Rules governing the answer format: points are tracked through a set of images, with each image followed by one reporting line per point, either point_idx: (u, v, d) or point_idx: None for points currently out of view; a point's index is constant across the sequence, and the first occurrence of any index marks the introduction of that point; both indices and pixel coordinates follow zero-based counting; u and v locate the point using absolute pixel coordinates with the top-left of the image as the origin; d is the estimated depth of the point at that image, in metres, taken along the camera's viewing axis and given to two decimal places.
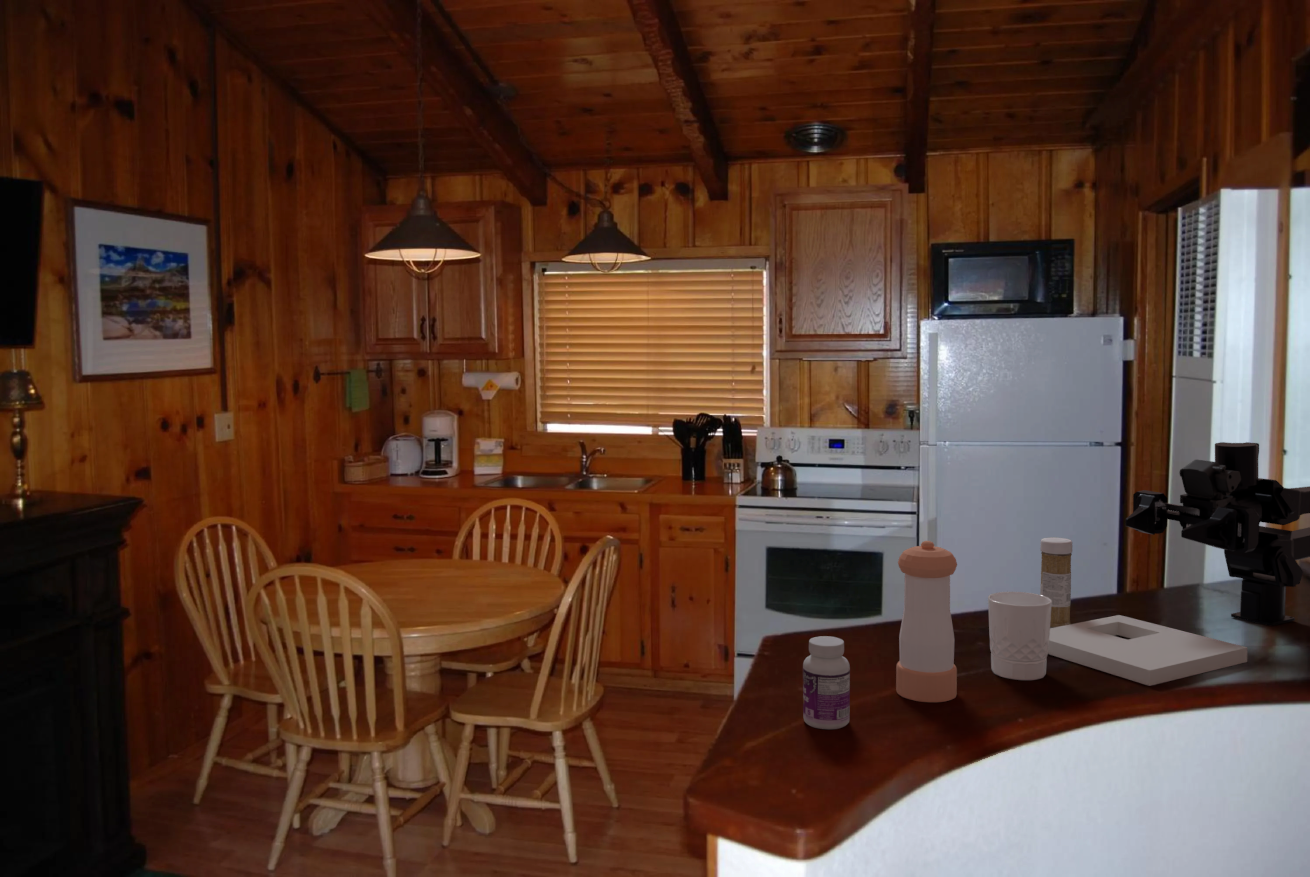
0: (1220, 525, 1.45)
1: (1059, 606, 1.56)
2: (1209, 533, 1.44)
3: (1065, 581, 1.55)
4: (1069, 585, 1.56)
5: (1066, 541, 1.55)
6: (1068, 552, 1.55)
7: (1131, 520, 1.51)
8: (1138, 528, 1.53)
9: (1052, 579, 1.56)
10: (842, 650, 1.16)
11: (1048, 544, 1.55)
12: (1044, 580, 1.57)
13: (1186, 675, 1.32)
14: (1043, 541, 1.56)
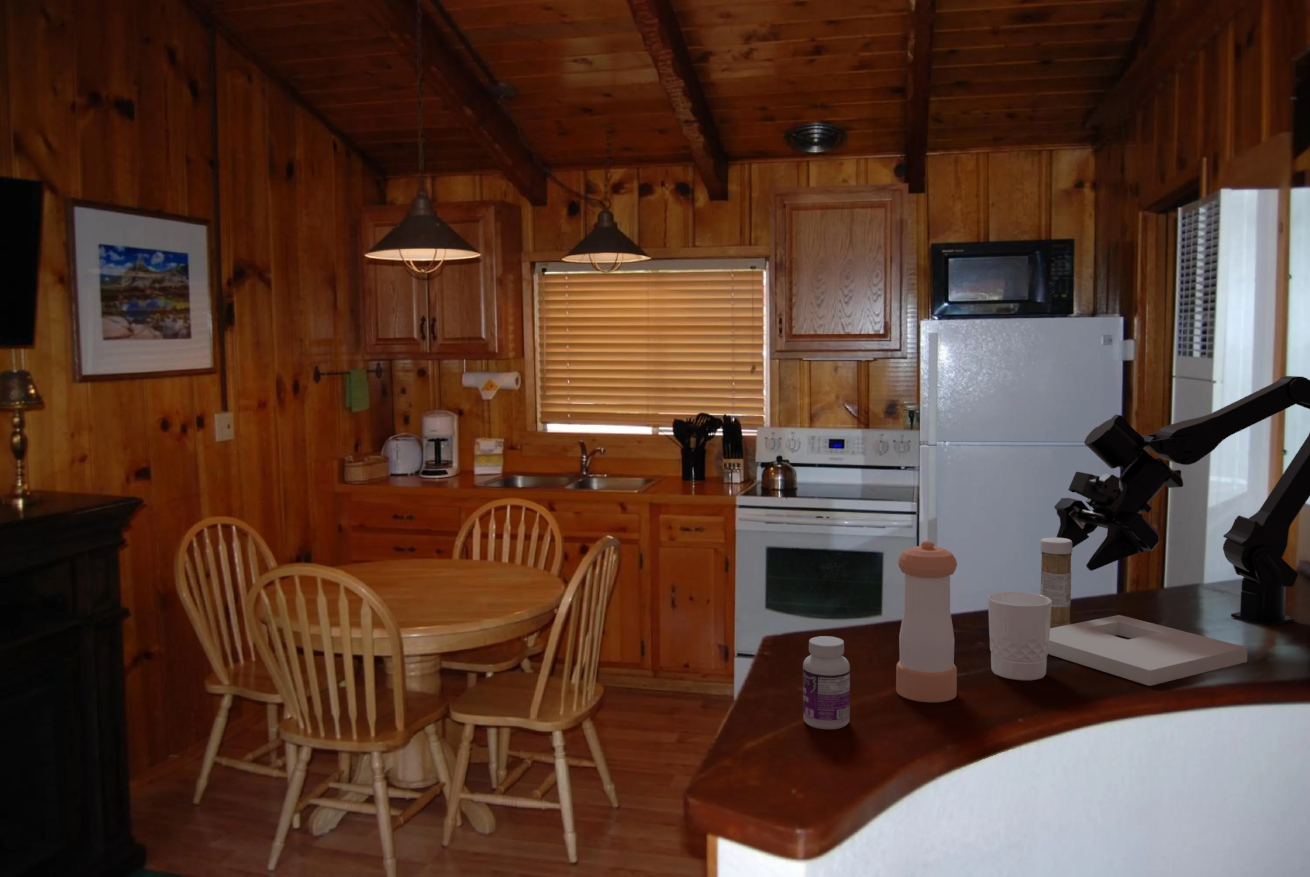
0: (1119, 537, 1.53)
1: (1059, 606, 1.56)
2: (1112, 551, 1.53)
3: (1065, 581, 1.55)
4: (1069, 585, 1.56)
5: (1066, 541, 1.55)
6: (1068, 552, 1.55)
7: None
8: None
9: (1052, 579, 1.56)
10: (842, 650, 1.16)
11: (1048, 544, 1.55)
12: (1044, 580, 1.57)
13: (1186, 675, 1.32)
14: (1043, 541, 1.56)
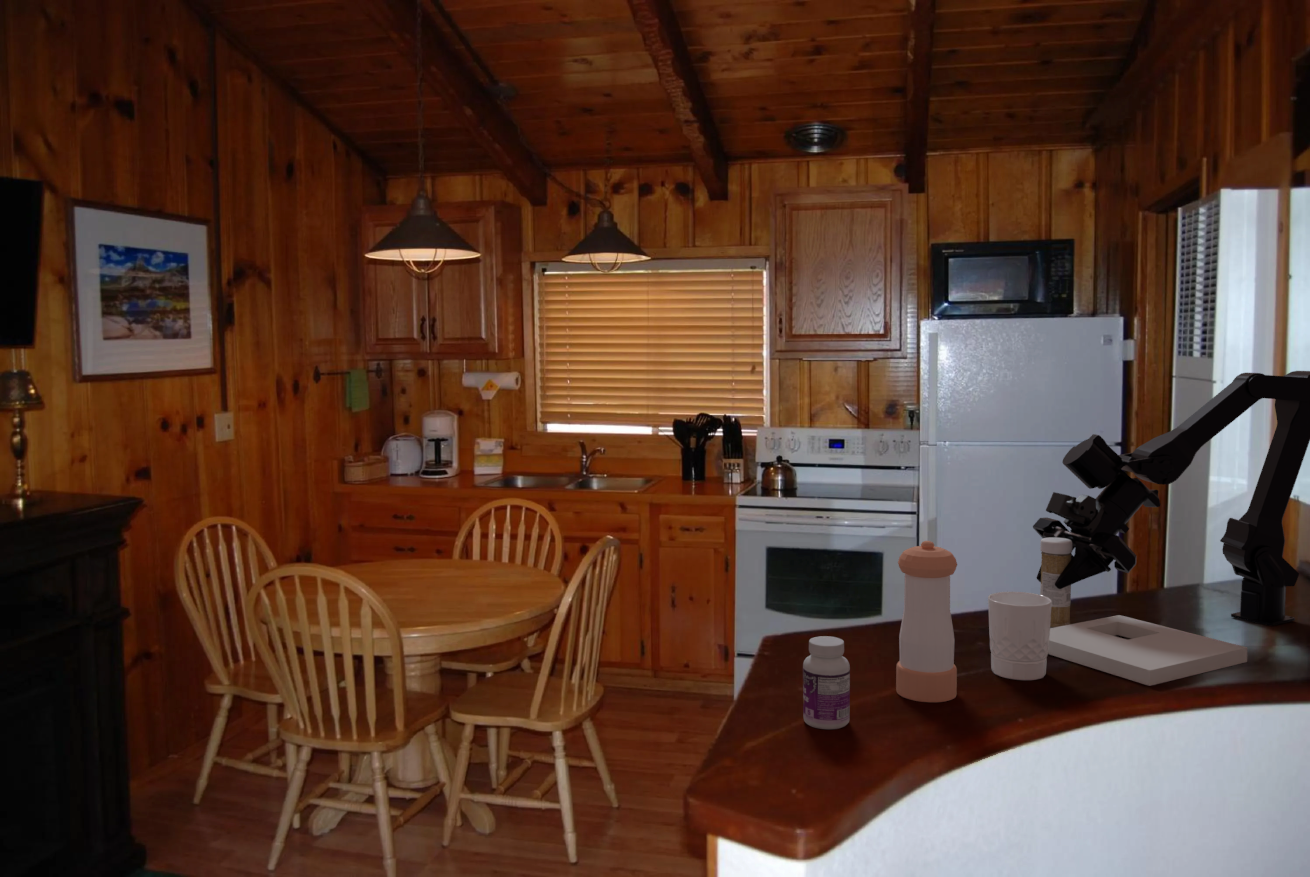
0: (1086, 555, 1.54)
1: (1059, 606, 1.56)
2: (1080, 570, 1.54)
3: None
4: (1069, 585, 1.56)
5: (1066, 541, 1.55)
6: (1068, 552, 1.55)
7: None
8: None
9: (1052, 579, 1.56)
10: (842, 650, 1.16)
11: (1048, 544, 1.55)
12: (1044, 580, 1.57)
13: (1186, 675, 1.32)
14: (1043, 541, 1.56)
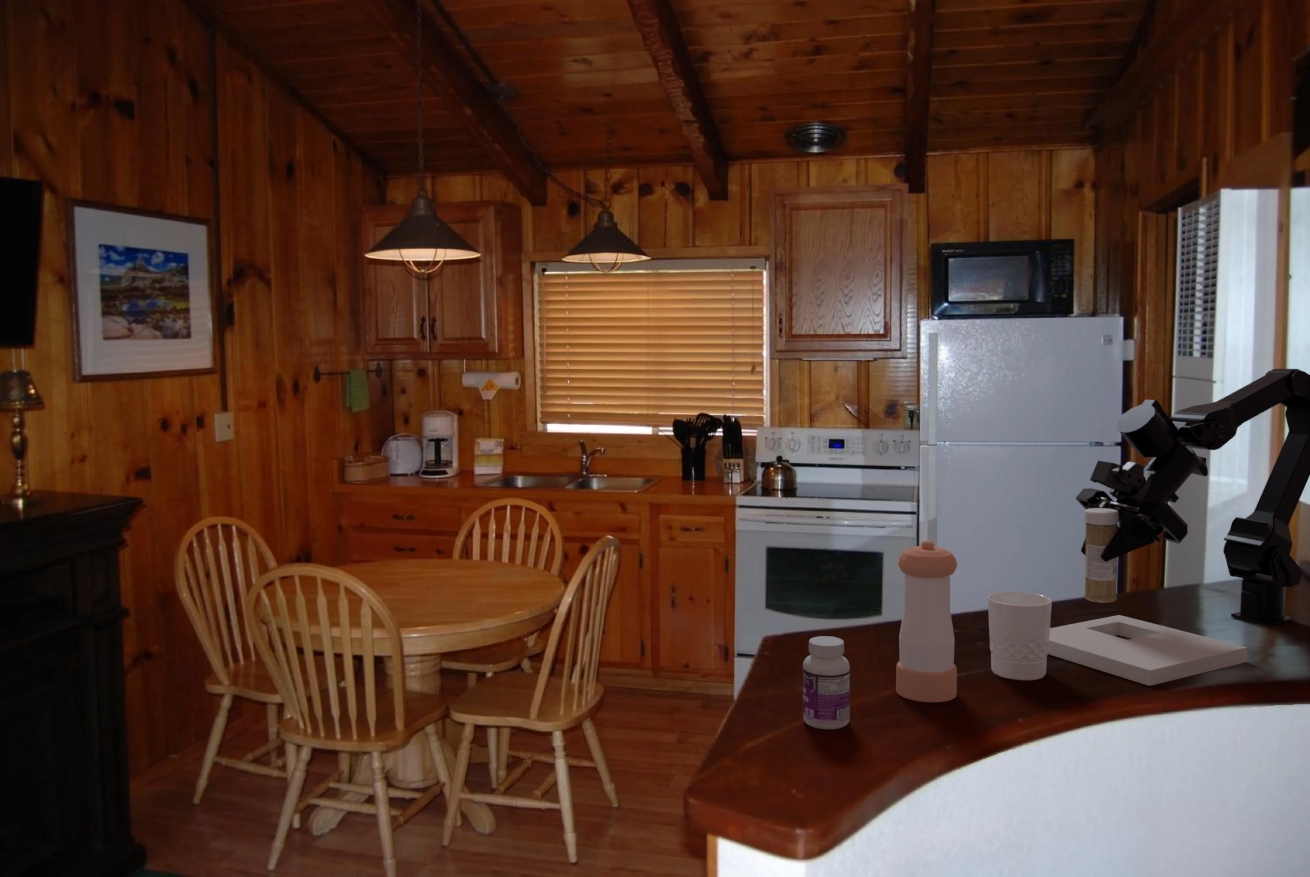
0: (1134, 526, 1.47)
1: (1105, 580, 1.48)
2: (1127, 541, 1.47)
3: None
4: None
5: (1112, 511, 1.48)
6: (1114, 523, 1.48)
7: None
8: None
9: (1098, 551, 1.48)
10: (842, 650, 1.16)
11: (1093, 515, 1.48)
12: (1089, 552, 1.49)
13: (1186, 675, 1.32)
14: (1087, 512, 1.49)
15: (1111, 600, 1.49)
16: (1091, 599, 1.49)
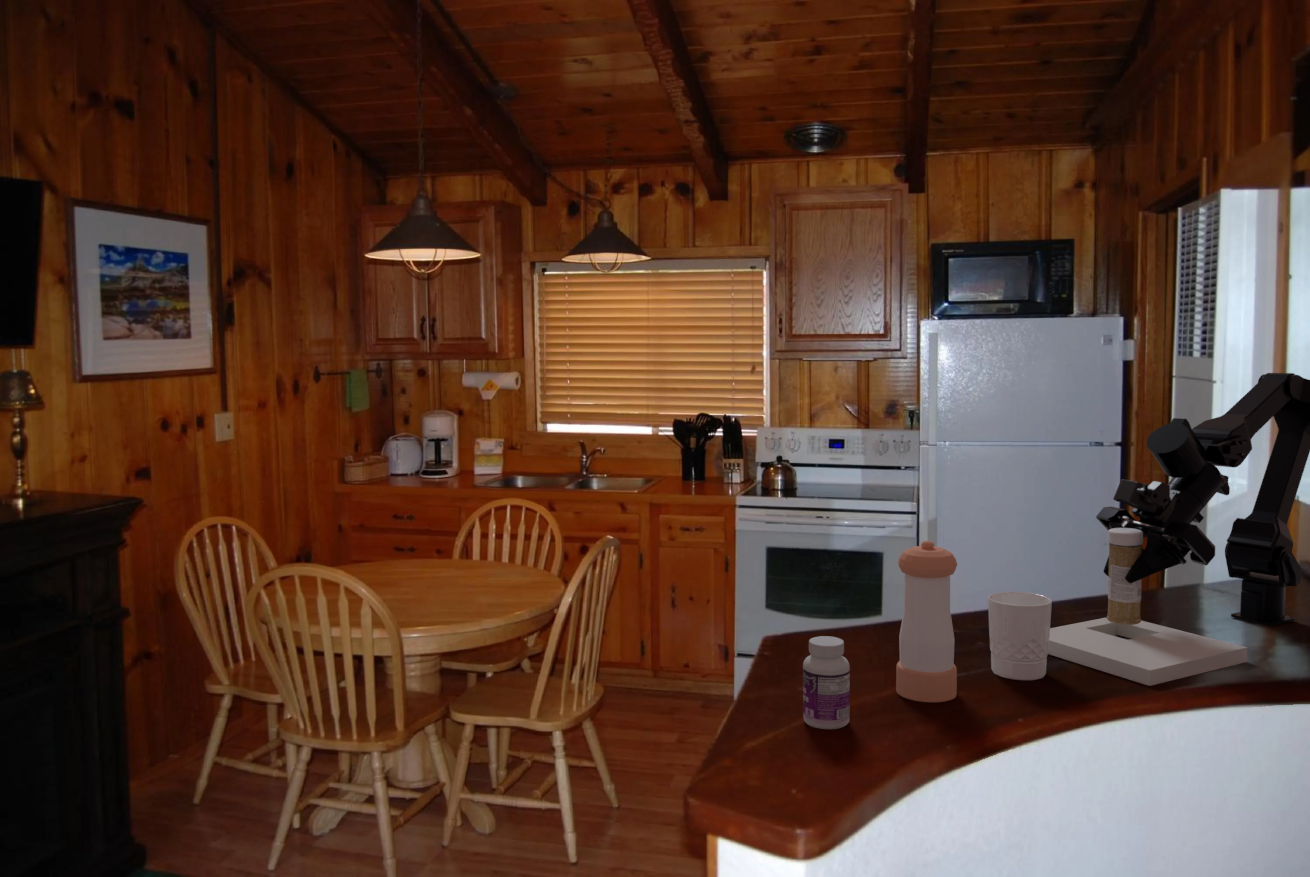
0: (1159, 547, 1.43)
1: (1129, 602, 1.45)
2: (1153, 562, 1.43)
3: None
4: (1140, 579, 1.45)
5: (1137, 532, 1.45)
6: (1139, 543, 1.44)
7: None
8: None
9: (1122, 573, 1.45)
10: (842, 650, 1.16)
11: (1117, 535, 1.45)
12: (1113, 573, 1.46)
13: (1186, 675, 1.32)
14: (1111, 532, 1.46)
15: (1135, 622, 1.45)
16: (1115, 621, 1.46)
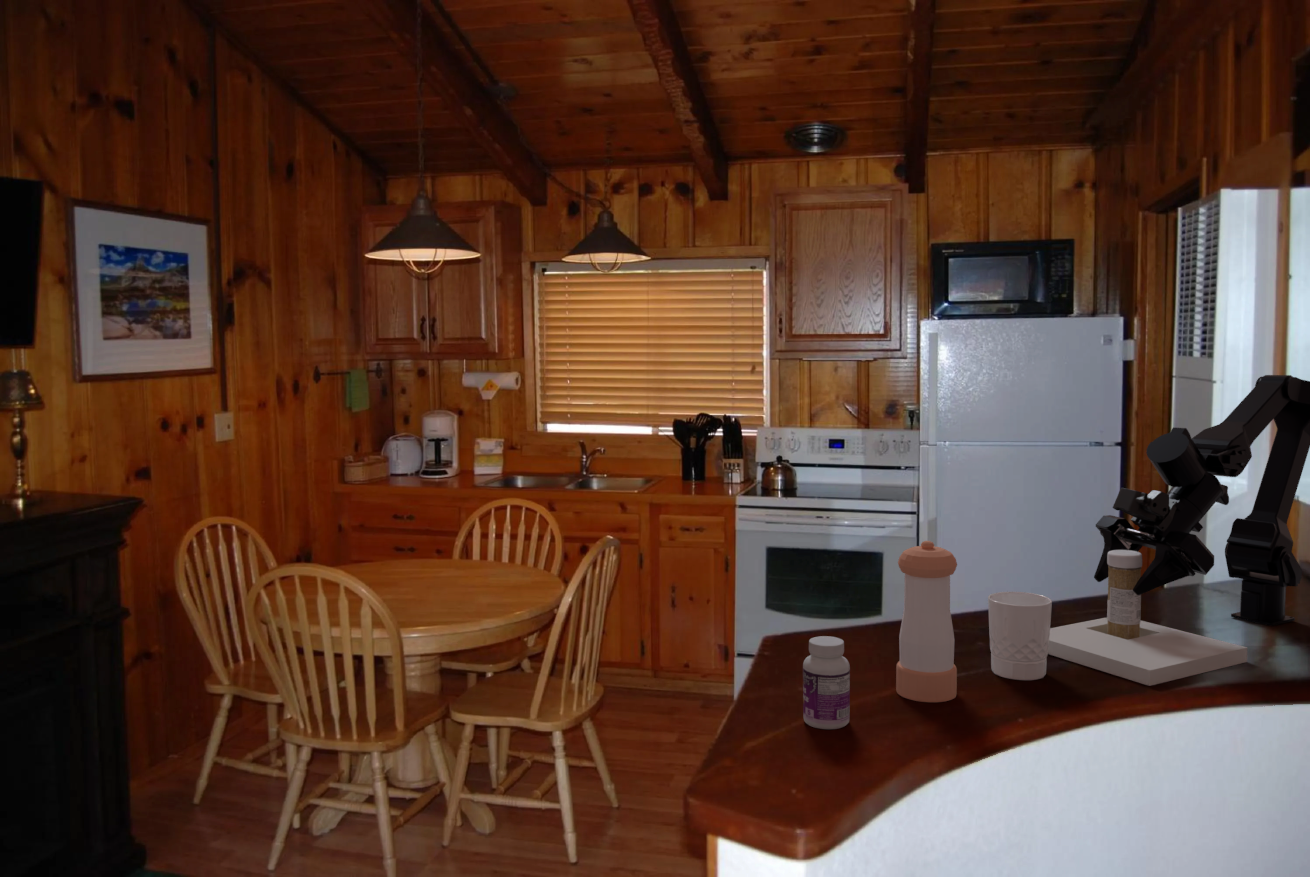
0: (1168, 559, 1.41)
1: (1128, 624, 1.45)
2: (1161, 574, 1.42)
3: (1135, 597, 1.45)
4: (1139, 601, 1.45)
5: (1136, 554, 1.45)
6: (1138, 566, 1.44)
7: (1100, 574, 1.50)
8: None
9: (1121, 595, 1.45)
10: (842, 650, 1.16)
11: (1116, 558, 1.45)
12: (1112, 595, 1.46)
13: (1186, 675, 1.32)
14: (1110, 554, 1.46)
15: None
16: None
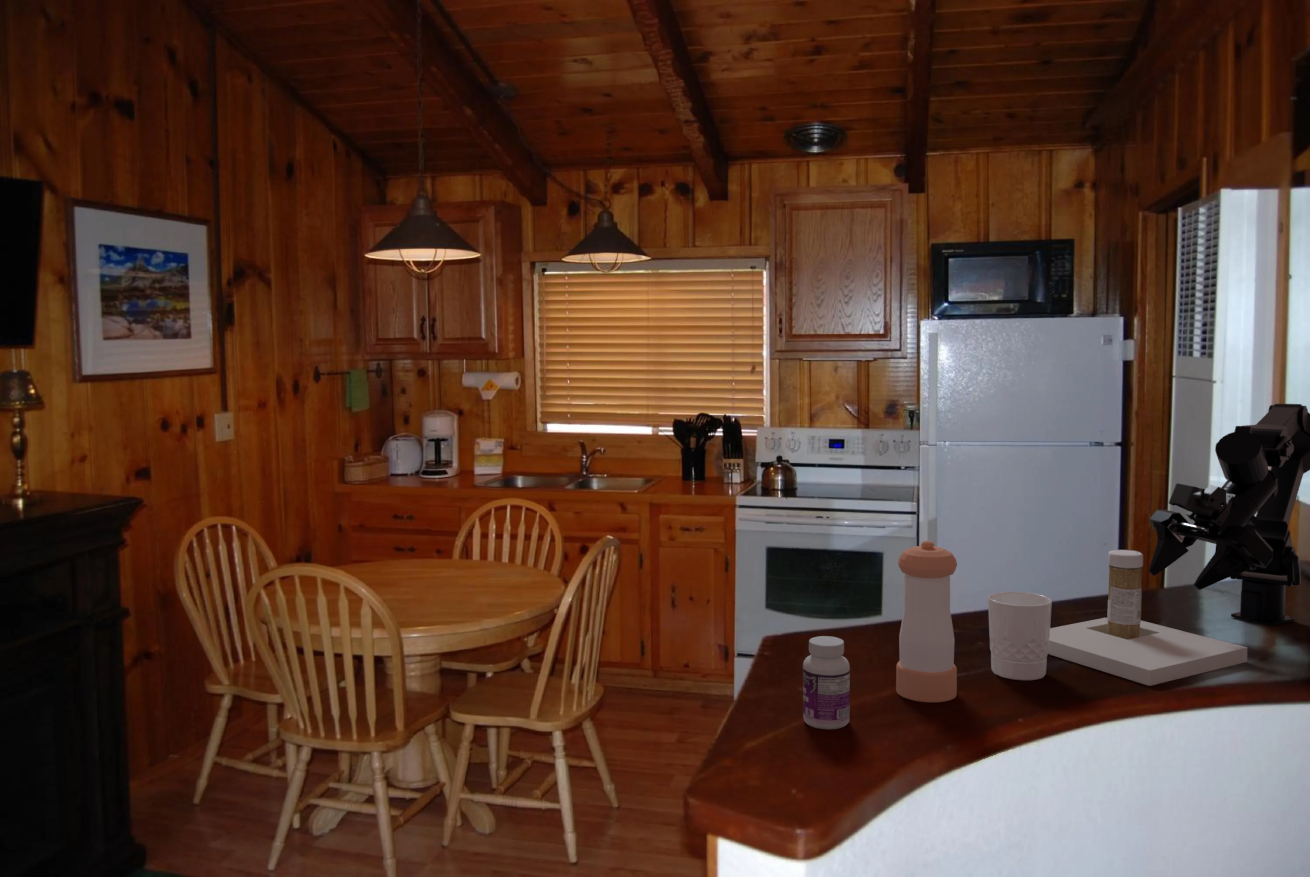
0: (1228, 553, 1.43)
1: (1129, 624, 1.45)
2: (1222, 568, 1.43)
3: (1135, 597, 1.45)
4: (1140, 601, 1.45)
5: (1137, 554, 1.45)
6: (1139, 566, 1.45)
7: (1154, 568, 1.53)
8: (1167, 566, 1.53)
9: (1122, 595, 1.45)
10: (842, 650, 1.16)
11: (1117, 557, 1.45)
12: (1113, 595, 1.46)
13: (1186, 675, 1.32)
14: (1111, 554, 1.46)
15: None
16: None
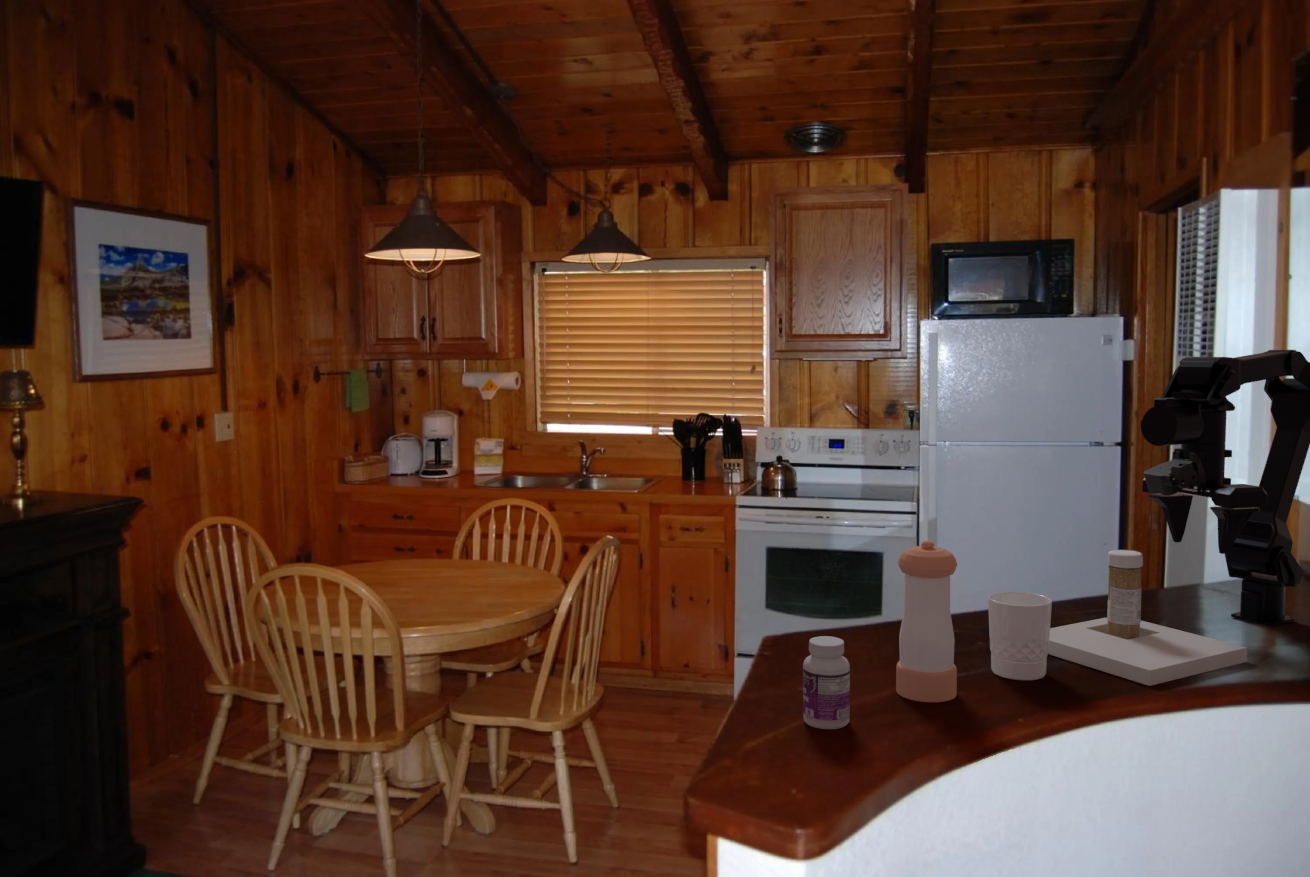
0: None
1: (1129, 624, 1.45)
2: (1232, 526, 1.45)
3: (1135, 597, 1.45)
4: (1139, 601, 1.45)
5: (1136, 554, 1.45)
6: (1139, 566, 1.45)
7: (1177, 536, 1.55)
8: (1185, 524, 1.56)
9: (1122, 595, 1.45)
10: (842, 650, 1.16)
11: (1117, 557, 1.45)
12: (1113, 595, 1.46)
13: (1186, 675, 1.32)
14: (1111, 554, 1.46)
15: None
16: None
